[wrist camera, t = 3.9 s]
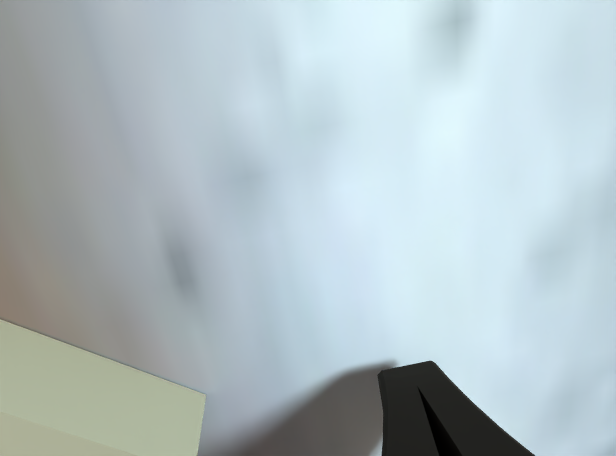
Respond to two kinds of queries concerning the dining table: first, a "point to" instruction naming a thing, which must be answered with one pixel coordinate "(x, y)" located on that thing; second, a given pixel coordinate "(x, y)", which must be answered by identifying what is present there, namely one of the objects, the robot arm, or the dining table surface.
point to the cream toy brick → (88, 403)
